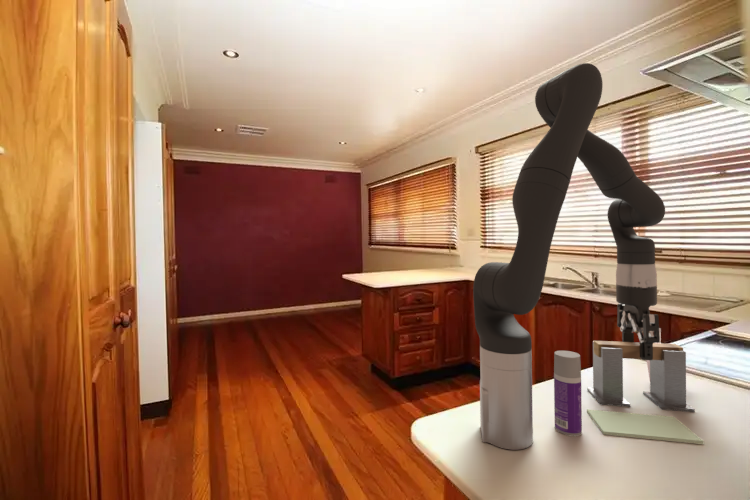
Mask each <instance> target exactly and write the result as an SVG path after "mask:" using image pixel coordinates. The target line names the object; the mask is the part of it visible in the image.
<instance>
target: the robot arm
mask: <svg viewBox="0 0 750 500" xmlns="http://www.w3.org/2000/svg"><path fill="white" fill-rule="evenodd" d="M602 95H603V77H602V74H601V71H600V70H599V69H598V67H597V66H595V65H594V64H592V63H587V62H586V63H585V62H584V63H579V64H577V65H573V66H571V67H569V68H567V69H566V70H564V71H562V72H561V73H558V74H556V75H555V76H553V77H551V78H549V79H548V80H546V81H544V82H543V83H542V84H540V86H539V87H538V88H537V90H536V93H535V96H534V103H535V108H536V110H537V113H538V114H539V116H540V117H541V119H543V121H544V122H545V124H546V125H547V126H548V127H550V128H549V130H548V131H547V132H546V133H545V135H544V136H543V137H542V138H541V140H540V141H539V142H538V143H537V145H536V146H535V147H534V149H532V151H531V152H530V154H529V155H528V157H527V158H526V160H525V161H524V163H523V164H522V166H521V169H520V171H519V173H518V178H517V180H516V183H515V186H514V190H513V193H512V197H511V198H512V200H511V201H512V207H513V208H512V209H513V212H514V217H515V221H516V223H517V230H518V233H517V240H516V243H515V244H516V245H515V247H514V251H513V254H512V257H511V260H509V262H502V261H501V262H497V261H492V262H486V263H485V264H483V265H481V266H480V267H479V268H478V270H477V272H476V274H475V276H474V279H473V285H472V286H473V287H472V292H473V293H472V294H473V295H472V297H473V311H474V312H473V313H474V315H473V316H474V323H475V325H474V326H475V330H476V332H477V336H478V337H479V362H480V363H479V366H480V368H479V369H480V370H479V371H480V380H479V406H480V407H479V408H480V410H479V412H480V413H479V414H480V415H479V416H480V419H479V420H480V432H481V441H482V442H483V443H489V444H491V445H493V446H495V447H498V448H501V449H506V450H518V451H519V450H523V449H527V448H529V447H531V445H532V444H533V442H534V424H533V423H534V421H533V412H534V411H533V365H532V364H533V362H532V361H533V356H532V353H533V352H532V336H531V334H530V332H529V331H528V330H527V329H526V328H524V327H523V326H522V325H521V324H520V323H519V322H518V320H517V319H516V317H515V315H518V316H524V315H527V314H529V313H530V312H531V311H533V309H534V308H536V306H537V303H538V302H539V299H540V297H541V294H542V290H543V287H544V281H545V277H546V271H547V266H548V261H549V255H550V252H551V251H550V250H551V246H552V243H553V237H554V234H555V231H556V227H557V224H558V220H559V217H560V213H561V210H562V208H563V205H564V201H565V199H566V196H567V192H568V190H569V186H570V183H571V179H572V175H573V171H574V167H575V164H576V161H577V160H578V159H579V160H580V162H581V163H582V164H583V166H584V167H585V168H586V170H587V171H588V173H589V174H590V176H591V178H592V179H593V181H594V183H595V184H596V186H597V187H598V189H599V191H600V192H601V194H602V195H603V196H605V197H606V198H608V199H615V200H613V201H612V202H611V203H610V205H609V207H608V209H607V220H608V224H609V227H610V229H611V233H612V235H613V240H614V242H615V245H616V263H617V264H616V270H615V293H616V294H615V297H616V298H615V299H616V302H617V306H616V307H617V309H616V310H617V311H616V312H617V317H616V322H617V323H616V326H617V328H619V330H620V332H621V336H622V337H621V340H622V341H621V342H635V334H636V335H637V336H638V337H637V338H638V340H639V343H640V358H641V359H640V360H643V361H647V360H652V359H653V343H659V342H660V336H659V328H660V318H659V317H660V316H659V314H656V313H654V314H653V313H650V307H654V306H656V305H657V304H658V276H657V275H658V274H657V268H656V245H655V241H654V240H653V239H652V238H648V237H643V236H640V235H638V234H637V233H636V231H635V229H634V228H641V227H653V226H656V225H658V224H660V223H661V222H662V221H663V219H664V217H665V216H666V207H665V203H664V201H663V199H662V198H661V197H660V195H659V194H658V193H657V192H656V191H655V190H653V188H651V187H650V186H649V185H648V184H647V183H646V182H645V181H643V180H642V179H641V178H639V177H638V176H637V175H636V173H635V171H634V169H633V167H632V166H631V164H630V162H629V161H628V159H627V158H626V156H625V155H624V153H623V152H622V151H621V150H620V149H619V148H618V147H616V145H613V144H612V143H611V142H608V141H607V140H605V139H604V138H602V137H600V136H598V135H597V134H595V133H593V132H591V131H590V130H589V128H590V125H591V123H592V120H593V118H594V117H595V113H596V112H597V109H598V107H599V105H600V101H601V99H602Z"/></svg>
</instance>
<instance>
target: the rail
mask: <svg viewBox="0 0 750 500" xmlns="http://www.w3.org/2000/svg"><path fill="white" fill-rule="evenodd" d="M593 341H594V354H596V355H597V356H598V357H601V347H611V348H621V349H623V359H627V360H630V359H631V360H642V359H641V358H640V341H639V342H635V341H634V342H622V341H615V340H614V341H613V340H611V341H608V340H593ZM662 350H678V351H684V347H682V346H681V345H678V344H676V343H663V342H661V343H653V359H652V360H662Z"/></svg>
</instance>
